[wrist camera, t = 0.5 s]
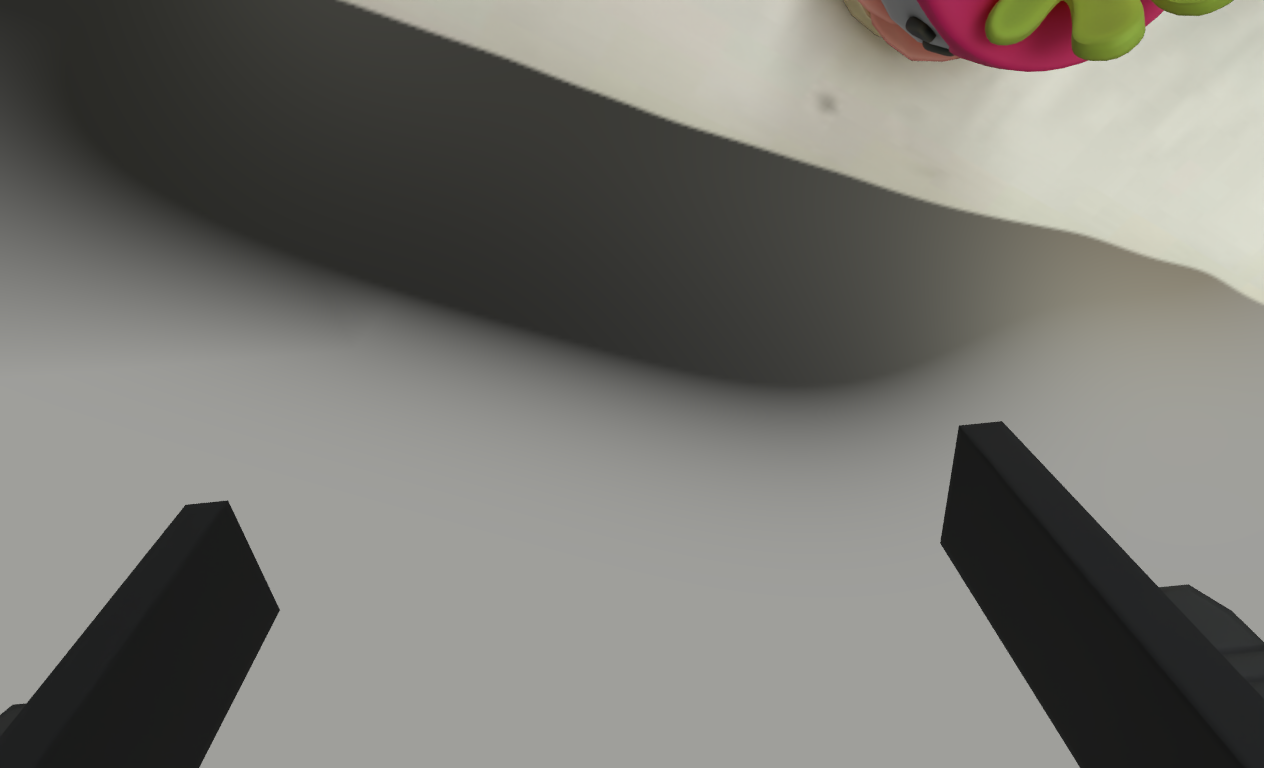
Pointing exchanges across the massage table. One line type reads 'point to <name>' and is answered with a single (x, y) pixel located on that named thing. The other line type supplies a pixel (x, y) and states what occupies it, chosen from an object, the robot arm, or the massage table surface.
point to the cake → (1018, 28)
